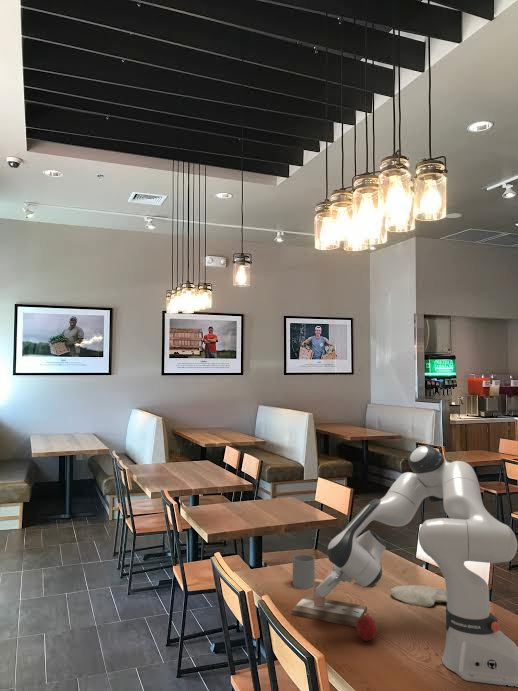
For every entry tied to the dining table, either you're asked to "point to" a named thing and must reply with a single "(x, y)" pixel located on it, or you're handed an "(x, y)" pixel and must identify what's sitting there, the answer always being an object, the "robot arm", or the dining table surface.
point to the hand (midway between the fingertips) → (317, 593)
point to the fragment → (419, 595)
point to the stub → (319, 600)
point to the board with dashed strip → (330, 611)
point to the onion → (366, 627)
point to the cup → (303, 571)
